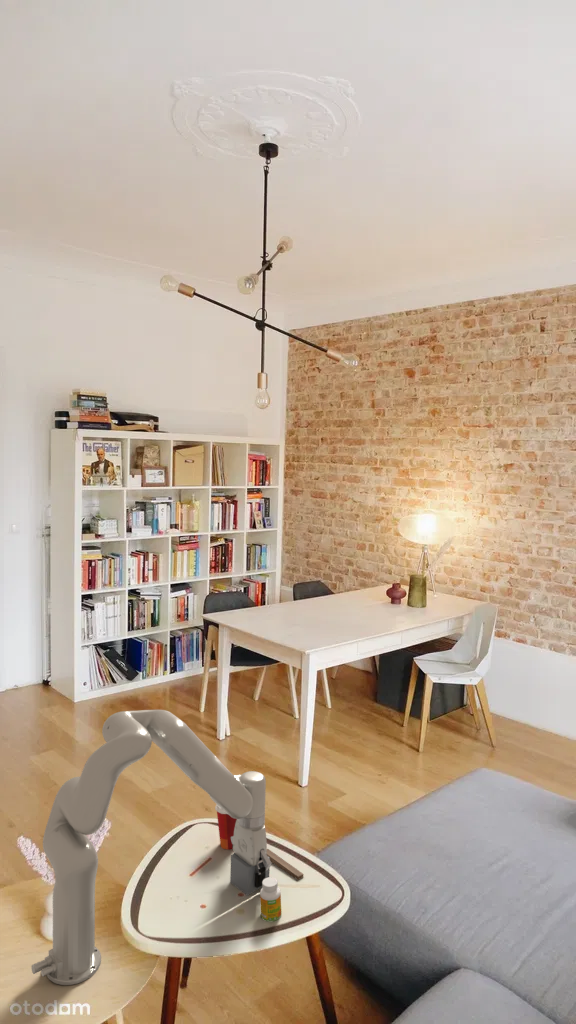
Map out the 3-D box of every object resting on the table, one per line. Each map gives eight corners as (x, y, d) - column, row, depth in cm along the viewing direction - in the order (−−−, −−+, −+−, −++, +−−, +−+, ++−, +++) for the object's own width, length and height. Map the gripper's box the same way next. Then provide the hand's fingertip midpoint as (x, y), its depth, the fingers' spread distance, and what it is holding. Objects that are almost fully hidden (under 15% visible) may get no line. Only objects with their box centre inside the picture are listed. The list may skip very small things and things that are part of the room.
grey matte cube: (247, 899, 185) (247, 868, 184) (230, 885, 190) (230, 855, 190) (268, 887, 190) (269, 857, 189) (251, 874, 195) (252, 845, 195)
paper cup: (244, 839, 212) (242, 796, 211) (240, 854, 205) (238, 810, 203) (219, 839, 213) (217, 796, 212) (214, 853, 206) (212, 809, 204)
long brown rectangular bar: (297, 885, 191) (298, 876, 191) (262, 858, 203) (262, 850, 203) (303, 882, 193) (303, 873, 192) (267, 856, 205) (267, 848, 204)
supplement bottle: (267, 927, 174) (266, 891, 173) (257, 915, 178) (255, 880, 177) (285, 918, 177) (284, 883, 176) (274, 907, 181) (273, 872, 180)
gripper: (222, 809, 193) (220, 868, 194) (260, 836, 180) (258, 898, 181) (243, 801, 198) (241, 858, 199) (281, 826, 184) (280, 887, 186)
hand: (249, 877), depth 190 cm, fingers open, 8 cm apart
